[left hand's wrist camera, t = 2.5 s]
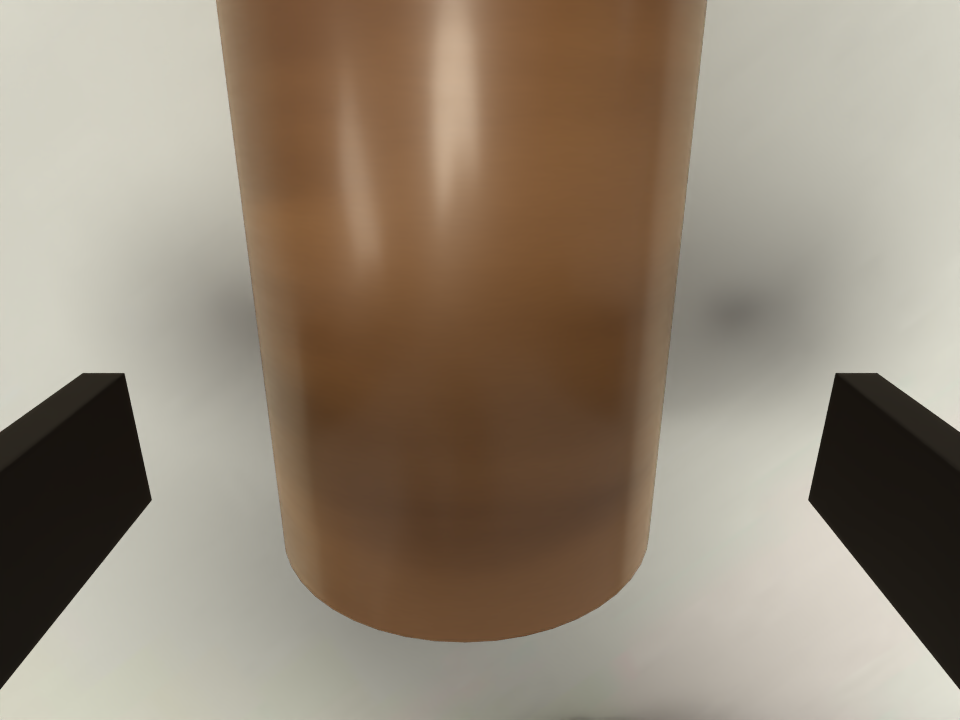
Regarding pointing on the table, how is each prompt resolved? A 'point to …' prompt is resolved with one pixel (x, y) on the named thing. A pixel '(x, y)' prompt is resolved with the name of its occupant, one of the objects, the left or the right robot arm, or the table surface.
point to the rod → (463, 292)
